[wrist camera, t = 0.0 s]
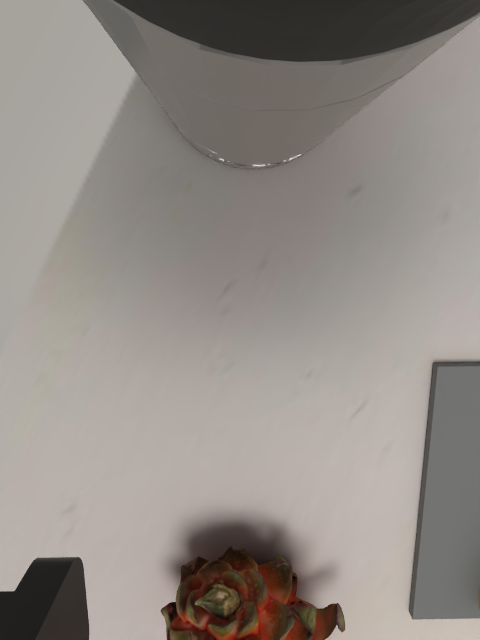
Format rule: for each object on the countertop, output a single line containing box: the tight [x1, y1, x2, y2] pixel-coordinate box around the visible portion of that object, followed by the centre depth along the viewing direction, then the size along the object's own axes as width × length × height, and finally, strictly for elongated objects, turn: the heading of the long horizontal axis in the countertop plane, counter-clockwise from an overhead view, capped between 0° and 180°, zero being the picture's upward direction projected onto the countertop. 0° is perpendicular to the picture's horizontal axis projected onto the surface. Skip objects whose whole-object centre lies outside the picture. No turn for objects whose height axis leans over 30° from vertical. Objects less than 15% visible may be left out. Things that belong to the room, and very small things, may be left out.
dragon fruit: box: [161, 547, 345, 640], centre depth 26 cm, size 8×8×12 cm
